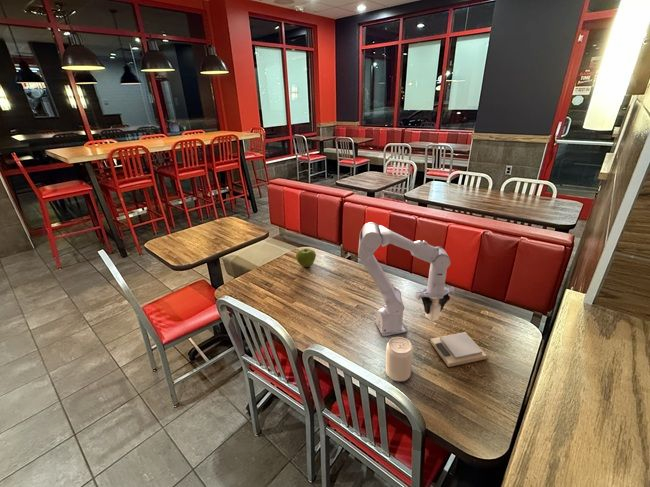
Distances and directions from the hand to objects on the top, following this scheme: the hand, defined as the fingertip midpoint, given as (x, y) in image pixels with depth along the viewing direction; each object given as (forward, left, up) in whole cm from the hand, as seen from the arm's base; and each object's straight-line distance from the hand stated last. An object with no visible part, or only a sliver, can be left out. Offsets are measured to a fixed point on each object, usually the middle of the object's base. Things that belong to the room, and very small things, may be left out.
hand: (432, 311), depth 117 cm
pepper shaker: (0, 0, -3) cm, 3 cm away
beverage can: (-21, -17, -8) cm, 28 cm away
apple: (-39, +63, -8) cm, 75 cm away
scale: (+3, -13, -8) cm, 15 cm away
